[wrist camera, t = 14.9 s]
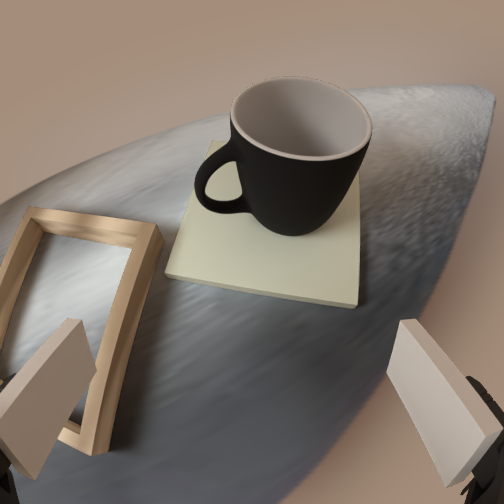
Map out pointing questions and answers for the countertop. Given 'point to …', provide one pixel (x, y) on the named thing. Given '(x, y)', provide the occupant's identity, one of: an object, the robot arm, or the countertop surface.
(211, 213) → the tile
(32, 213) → the rectangular wooden frame
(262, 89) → the mug
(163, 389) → the countertop surface
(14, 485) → the robot arm
